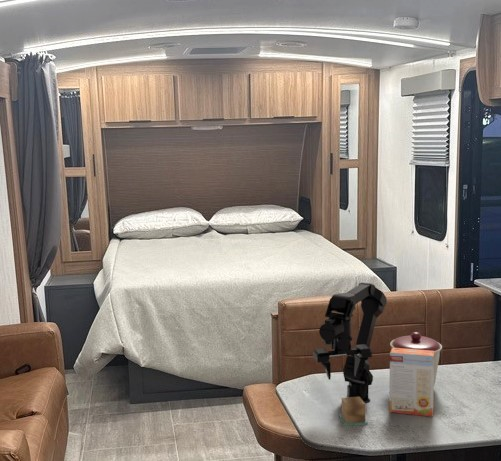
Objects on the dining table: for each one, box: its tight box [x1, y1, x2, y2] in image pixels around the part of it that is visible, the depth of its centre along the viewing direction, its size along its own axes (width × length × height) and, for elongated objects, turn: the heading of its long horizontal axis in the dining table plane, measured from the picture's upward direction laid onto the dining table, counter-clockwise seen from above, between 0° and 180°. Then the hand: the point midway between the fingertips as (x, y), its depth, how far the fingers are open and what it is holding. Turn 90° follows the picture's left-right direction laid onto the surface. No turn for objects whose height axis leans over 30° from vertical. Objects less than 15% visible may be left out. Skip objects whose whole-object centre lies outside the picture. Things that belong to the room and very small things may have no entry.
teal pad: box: [338, 414, 369, 427], centre depth 203 cm, size 7×7×1 cm
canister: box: [389, 331, 443, 386], centre depth 226 cm, size 18×18×21 cm
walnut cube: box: [341, 396, 367, 423], centre depth 202 cm, size 6×6×6 cm
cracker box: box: [388, 347, 435, 417], centre depth 207 cm, size 14×6×21 cm, turn 71°
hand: (342, 377), depth 208 cm, fingers open, 9 cm apart
